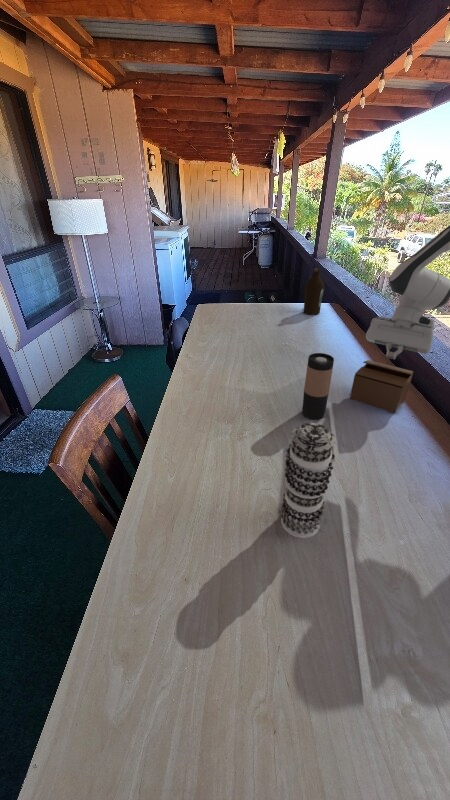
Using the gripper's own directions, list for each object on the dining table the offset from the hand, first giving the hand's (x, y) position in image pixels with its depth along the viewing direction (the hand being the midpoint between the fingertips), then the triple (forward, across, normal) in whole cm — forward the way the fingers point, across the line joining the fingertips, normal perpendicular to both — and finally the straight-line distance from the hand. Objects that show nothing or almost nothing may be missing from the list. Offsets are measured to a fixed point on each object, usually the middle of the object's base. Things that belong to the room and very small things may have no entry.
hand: (390, 357), depth 115 cm
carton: (+13, 0, +9) cm, 16 cm away
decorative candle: (+57, +2, -36) cm, 68 cm away
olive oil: (-44, -63, +65) cm, 101 cm away
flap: (+2, 0, +3) cm, 4 cm away
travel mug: (+28, -14, -6) cm, 32 cm away
